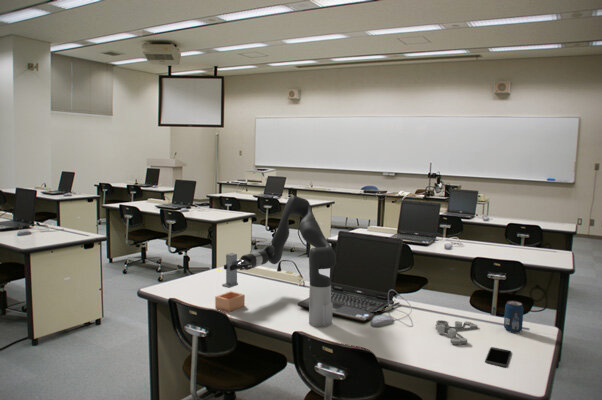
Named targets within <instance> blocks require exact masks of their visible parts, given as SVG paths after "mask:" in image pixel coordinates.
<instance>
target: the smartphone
mask: <svg viewBox="0 0 602 400" xmlns="http://www.w3.org/2000/svg"><path fill="white" fill-rule="evenodd" d="M511 356H512V351H511V350H509V349H503V348H499V347H492V346H491V347H490V348H489V350H488V353H487V354H486V357H485V360H484V364H485V363H486V364H488V365H491V366H496V367H499V368H503V369H506V368H507V369H508V366H509V364H510V363H509V362H510V359H511Z"/></svg>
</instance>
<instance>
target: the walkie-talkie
mask: <svg viewBox="0 0 602 400" xmlns="http://www.w3.org/2000/svg"><path fill="white" fill-rule="evenodd" d="M389 305H390V306H389V307H386V308H385V310H384V311H383V312H388V311H390V310H393V308H394V307H396V306H397V305H400V302H395V303H392V304H389Z"/></svg>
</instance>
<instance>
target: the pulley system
mask: <svg viewBox="0 0 602 400" xmlns="http://www.w3.org/2000/svg"><path fill="white" fill-rule="evenodd" d="M464 326H467V327H464ZM468 326H469V327H468ZM434 328H435V330H436V331H437V333H440V334H447V337H448V338H449V339H450V340H449V341H450V343H451V344H452V345H455V346H456V345H459V344H460V345H461V344H467V343H468V339H467V338H466V337H464V336H463V335H461V334H460V333H458V332H462V331H470V330H477V329H478V324H475V323H473V322H471V321H468V320H467V321H464V322H463V321H458V320H457V321H454V326H451V325H449V321H447V320H442V319H441V320H437V321H436V324H435V327H434ZM457 336H458V337H459V338H458V339H457V338H456V337H457Z"/></svg>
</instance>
